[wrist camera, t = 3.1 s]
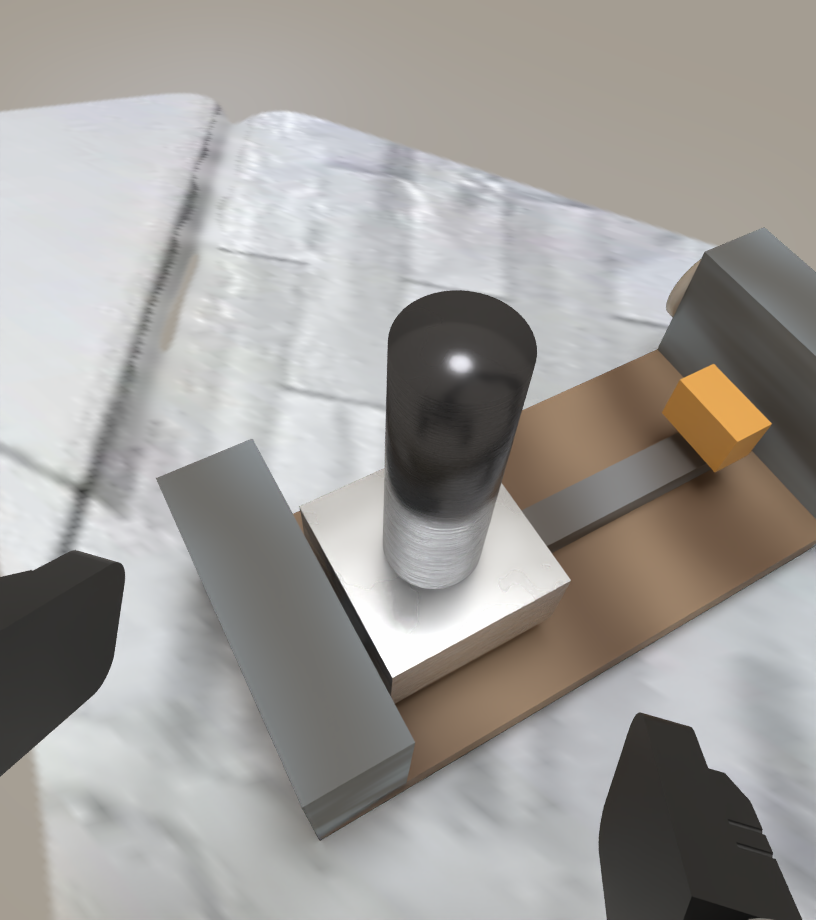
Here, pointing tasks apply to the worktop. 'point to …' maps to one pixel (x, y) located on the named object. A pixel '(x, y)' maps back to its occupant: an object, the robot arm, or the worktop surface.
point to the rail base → (559, 526)
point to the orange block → (715, 417)
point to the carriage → (440, 500)
